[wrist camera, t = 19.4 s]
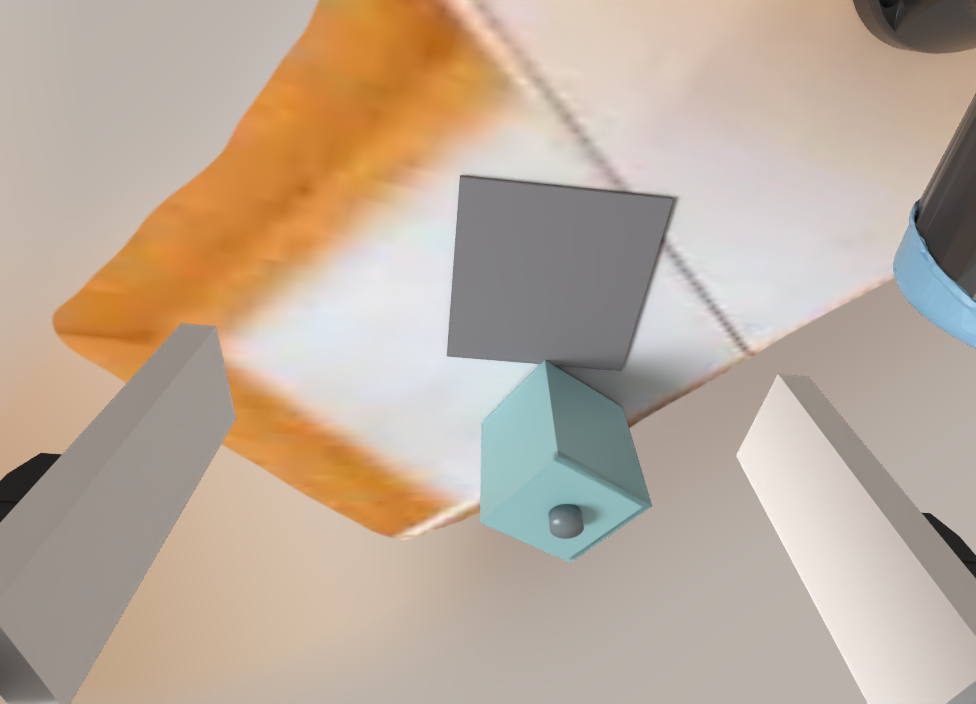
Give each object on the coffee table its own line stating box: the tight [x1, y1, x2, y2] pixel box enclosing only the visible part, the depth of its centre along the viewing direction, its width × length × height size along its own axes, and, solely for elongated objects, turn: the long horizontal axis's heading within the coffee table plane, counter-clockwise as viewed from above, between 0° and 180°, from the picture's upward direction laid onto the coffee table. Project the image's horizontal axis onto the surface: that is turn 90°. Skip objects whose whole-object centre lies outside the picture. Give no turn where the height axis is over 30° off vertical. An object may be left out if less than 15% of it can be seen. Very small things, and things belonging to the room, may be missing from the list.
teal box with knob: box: [480, 360, 652, 563], centre depth 53 cm, size 11×11×14 cm
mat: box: [447, 176, 673, 371], centre depth 50 cm, size 18×18×1 cm
